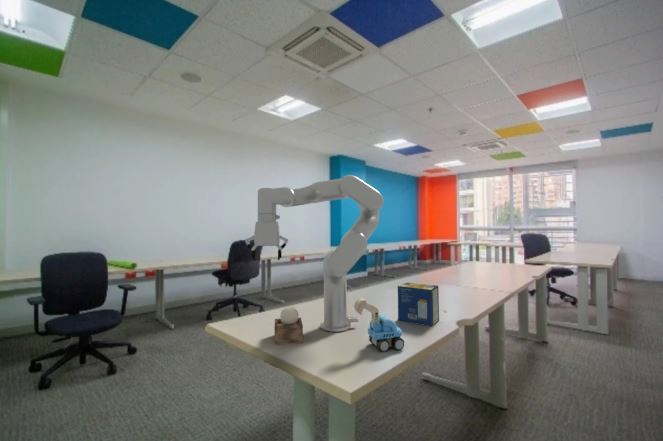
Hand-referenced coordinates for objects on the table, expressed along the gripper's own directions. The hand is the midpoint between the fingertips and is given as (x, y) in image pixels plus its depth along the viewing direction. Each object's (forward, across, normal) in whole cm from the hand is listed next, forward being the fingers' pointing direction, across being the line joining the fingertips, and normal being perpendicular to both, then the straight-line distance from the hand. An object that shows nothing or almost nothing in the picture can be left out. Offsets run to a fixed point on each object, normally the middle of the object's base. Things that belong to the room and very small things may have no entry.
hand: (266, 260), depth 125 cm
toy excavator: (+29, -38, +26) cm, 55 cm away
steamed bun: (+24, -8, +12) cm, 27 cm away
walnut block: (+29, -8, +12) cm, 32 cm away
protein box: (+28, -66, 0) cm, 72 cm away
